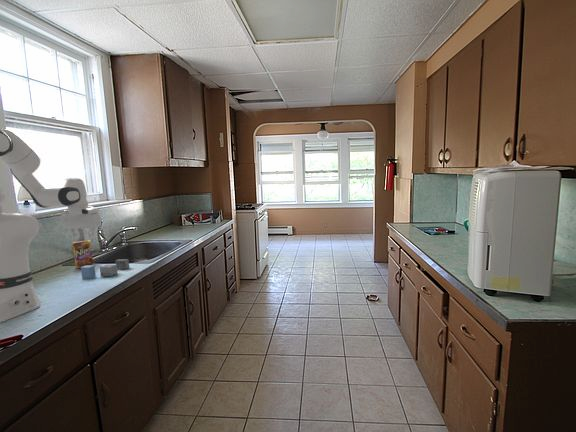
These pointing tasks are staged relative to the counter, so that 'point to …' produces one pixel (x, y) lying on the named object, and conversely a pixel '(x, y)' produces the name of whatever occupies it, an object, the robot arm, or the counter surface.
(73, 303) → the counter surface
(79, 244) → the candy box
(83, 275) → the blue block
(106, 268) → the sliding jaw
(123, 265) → the block
